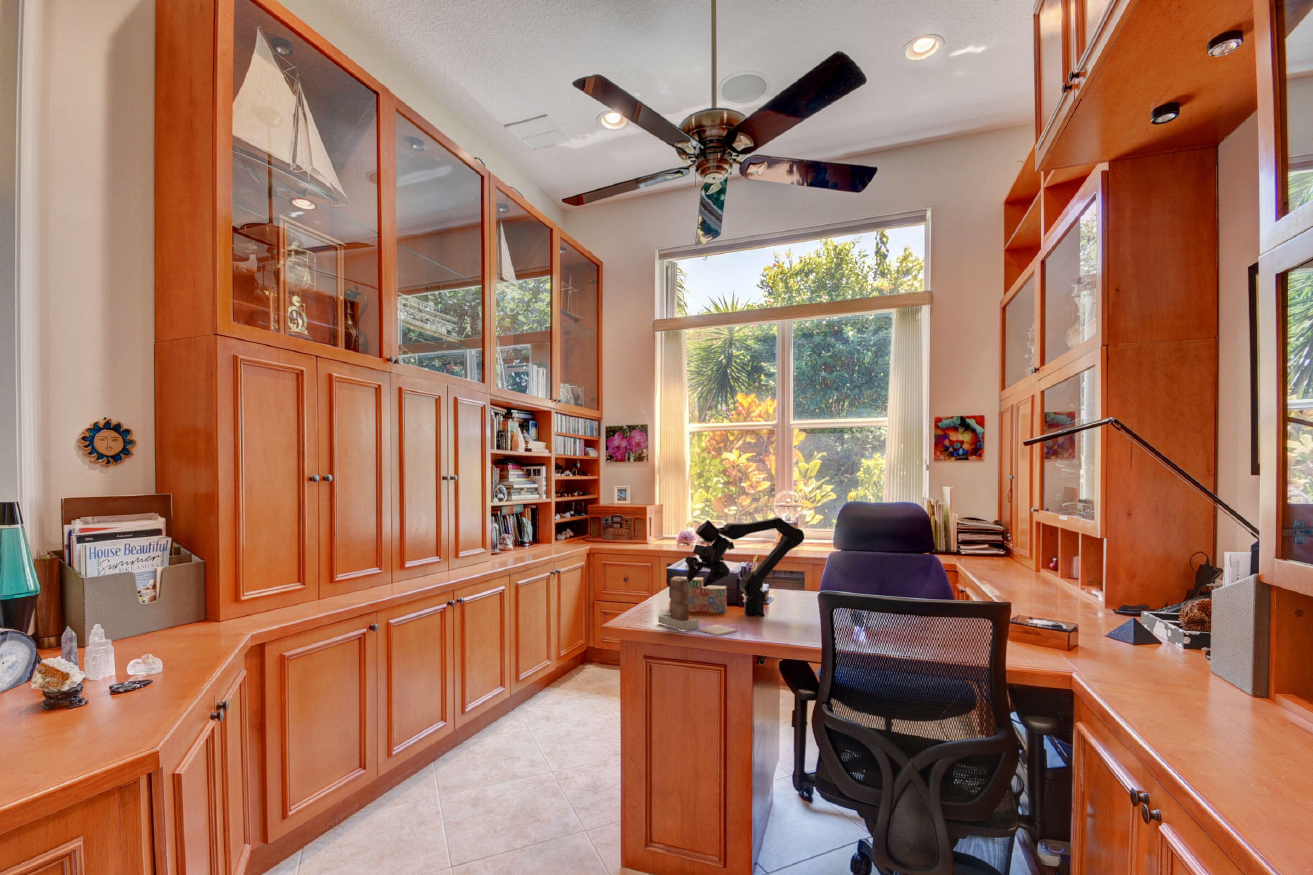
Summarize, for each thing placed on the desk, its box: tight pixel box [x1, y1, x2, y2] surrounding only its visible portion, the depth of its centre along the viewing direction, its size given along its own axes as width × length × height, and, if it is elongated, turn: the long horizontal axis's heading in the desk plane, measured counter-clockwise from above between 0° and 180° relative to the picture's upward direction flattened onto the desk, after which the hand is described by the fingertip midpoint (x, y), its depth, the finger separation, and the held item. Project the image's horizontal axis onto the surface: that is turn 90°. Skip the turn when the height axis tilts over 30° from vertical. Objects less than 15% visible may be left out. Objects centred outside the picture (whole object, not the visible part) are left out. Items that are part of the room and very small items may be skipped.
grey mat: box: [698, 624, 737, 637], centre depth 193 cm, size 9×9×1 cm
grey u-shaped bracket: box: [657, 612, 699, 631], centre depth 199 cm, size 7×13×3 cm, turn 39°
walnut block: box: [669, 578, 690, 622], centre depth 200 cm, size 4×4×16 cm
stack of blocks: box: [671, 576, 728, 614], centre depth 224 cm, size 21×6×12 cm, turn 74°
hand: (695, 584), depth 206 cm, fingers open, 9 cm apart
